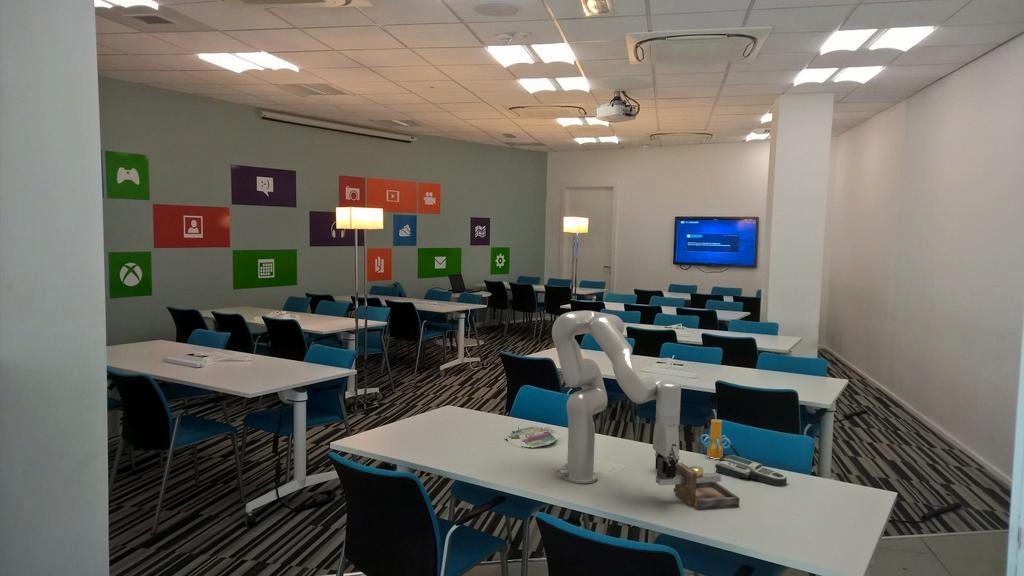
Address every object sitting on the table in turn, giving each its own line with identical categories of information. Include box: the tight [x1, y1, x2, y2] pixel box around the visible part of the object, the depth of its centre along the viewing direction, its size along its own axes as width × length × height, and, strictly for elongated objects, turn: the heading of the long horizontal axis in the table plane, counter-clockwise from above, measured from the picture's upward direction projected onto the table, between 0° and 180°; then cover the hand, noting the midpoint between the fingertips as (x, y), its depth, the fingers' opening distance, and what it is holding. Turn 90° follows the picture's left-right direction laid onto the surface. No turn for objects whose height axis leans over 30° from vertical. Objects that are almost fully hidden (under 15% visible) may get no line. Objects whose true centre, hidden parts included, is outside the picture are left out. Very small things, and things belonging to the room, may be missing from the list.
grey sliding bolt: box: [655, 457, 722, 486], centre depth 210 cm, size 22×4×8 cm, turn 103°
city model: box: [507, 426, 560, 449], centre depth 271 cm, size 25×23×6 cm
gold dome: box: [689, 465, 704, 478], centre depth 210 cm, size 4×4×2 cm
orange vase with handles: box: [700, 418, 732, 458], centre depth 255 cm, size 12×10×15 cm
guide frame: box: [673, 462, 740, 511], centre depth 211 cm, size 16×16×11 cm
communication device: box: [714, 444, 787, 487], centre depth 234 cm, size 12×24×9 cm, turn 48°
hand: (665, 472), depth 208 cm, fingers open, 6 cm apart
